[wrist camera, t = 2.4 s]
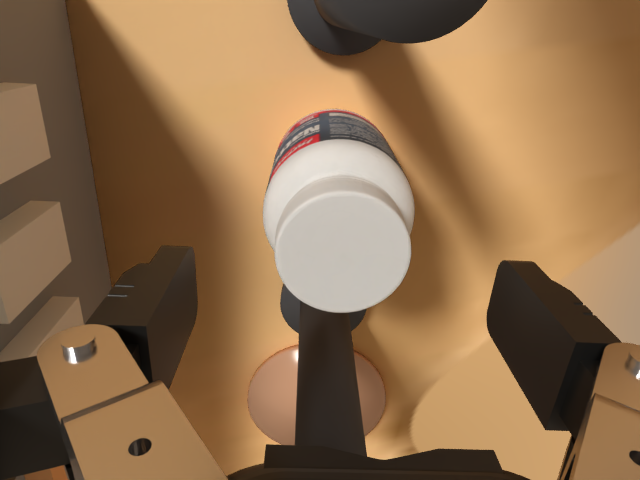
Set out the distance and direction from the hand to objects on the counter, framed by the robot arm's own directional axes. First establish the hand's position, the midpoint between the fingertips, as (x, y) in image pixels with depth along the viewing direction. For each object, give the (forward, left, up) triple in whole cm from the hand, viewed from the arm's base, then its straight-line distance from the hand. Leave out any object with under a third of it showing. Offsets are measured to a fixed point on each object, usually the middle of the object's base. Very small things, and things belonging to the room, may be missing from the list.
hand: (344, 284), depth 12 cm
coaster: (+14, 0, -10) cm, 17 cm away
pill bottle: (0, 0, -10) cm, 10 cm away
